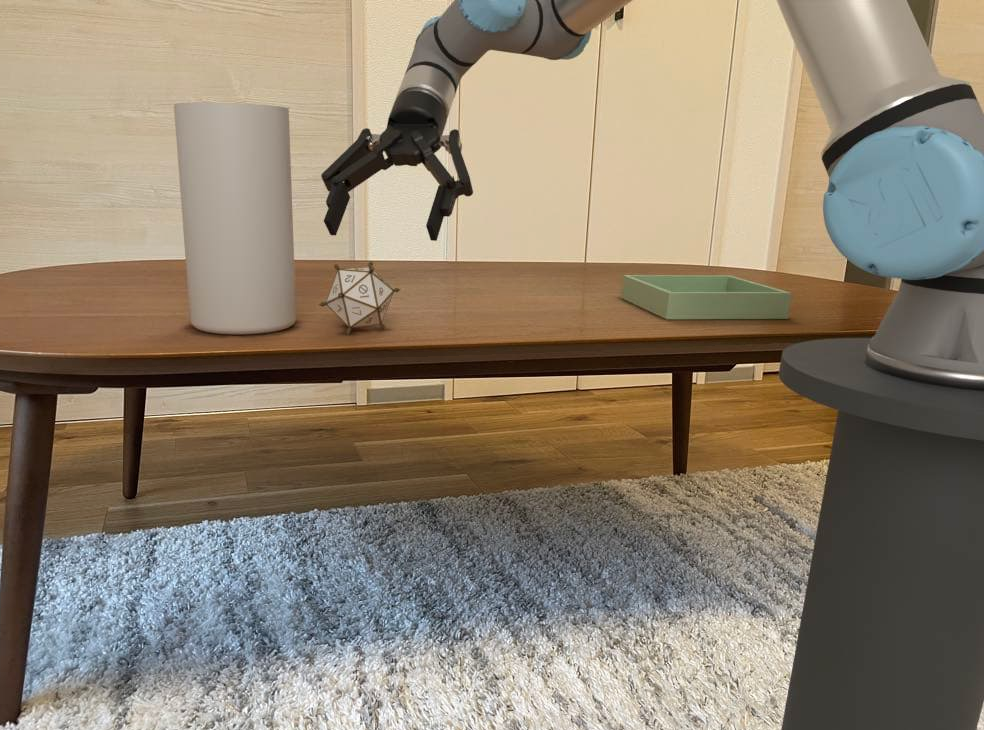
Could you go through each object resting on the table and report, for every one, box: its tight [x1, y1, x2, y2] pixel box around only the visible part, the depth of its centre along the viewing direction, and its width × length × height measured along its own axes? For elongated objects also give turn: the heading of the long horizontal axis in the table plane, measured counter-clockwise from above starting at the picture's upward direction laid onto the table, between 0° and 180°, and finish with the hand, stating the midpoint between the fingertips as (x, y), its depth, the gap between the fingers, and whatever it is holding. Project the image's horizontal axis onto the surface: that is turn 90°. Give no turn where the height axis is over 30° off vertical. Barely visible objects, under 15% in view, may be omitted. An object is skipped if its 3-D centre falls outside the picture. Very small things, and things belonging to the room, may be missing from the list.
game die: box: [318, 260, 402, 335], centre depth 93 cm, size 9×8×10 cm
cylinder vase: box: [173, 101, 297, 336], centre depth 91 cm, size 12×12×25 cm
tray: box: [621, 274, 793, 320], centre depth 113 cm, size 18×18×4 cm
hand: (379, 231), depth 96 cm, fingers open, 13 cm apart
